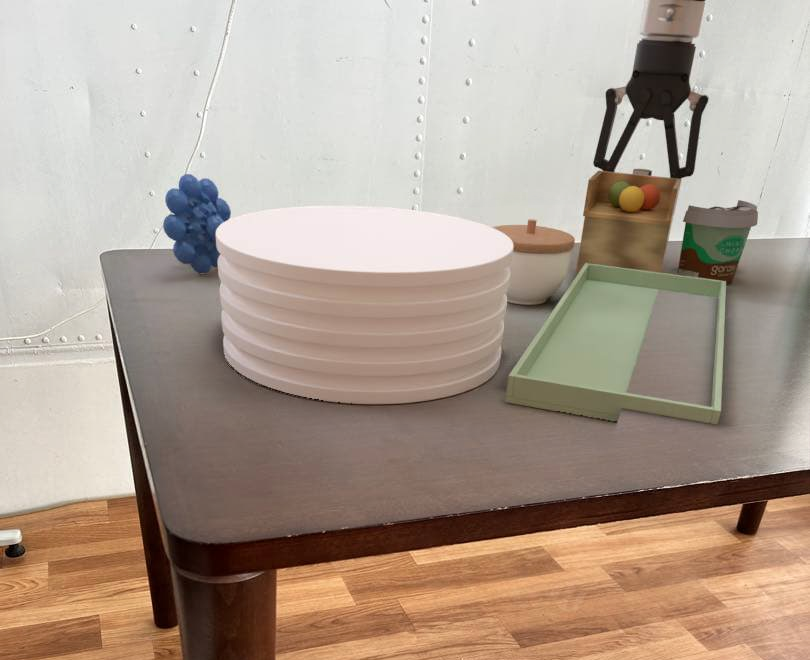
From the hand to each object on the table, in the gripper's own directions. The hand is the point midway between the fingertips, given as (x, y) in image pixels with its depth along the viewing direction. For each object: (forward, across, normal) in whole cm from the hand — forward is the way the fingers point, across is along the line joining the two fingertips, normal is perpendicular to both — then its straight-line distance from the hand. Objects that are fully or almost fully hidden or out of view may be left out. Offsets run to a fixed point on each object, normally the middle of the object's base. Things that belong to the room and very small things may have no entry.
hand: (632, 224), depth 119 cm
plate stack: (+6, -21, -54) cm, 58 cm away
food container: (+6, +13, -4) cm, 15 cm away
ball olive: (-5, -2, -8) cm, 9 cm away
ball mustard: (-5, 0, -11) cm, 12 cm away
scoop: (-3, 0, -6) cm, 7 cm away
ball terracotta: (-5, +2, -8) cm, 9 cm away
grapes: (+6, -49, -36) cm, 61 cm away
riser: (+6, 0, -9) cm, 11 cm away
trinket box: (+6, -10, -26) cm, 29 cm away
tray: (+6, +5, -38) cm, 39 cm away
